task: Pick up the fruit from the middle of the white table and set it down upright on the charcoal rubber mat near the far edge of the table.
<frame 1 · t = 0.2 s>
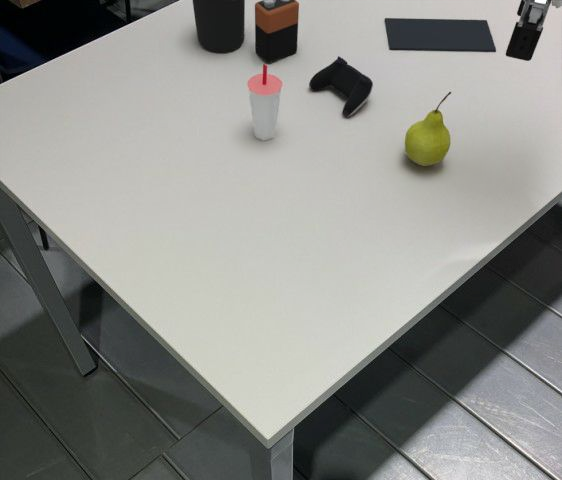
hand: (523, 36, 79), 22 cm above the table, tool pointing down, fingers open, 9 cm apart
fruit: (421, 161, 100), on the table
battery: (276, 54, 115), on the table
cup: (264, 134, 103), on the table
mat: (438, 35, 119), on the table
gaming controller: (341, 98, 108), on the table
pen holder: (221, 41, 116), on the table
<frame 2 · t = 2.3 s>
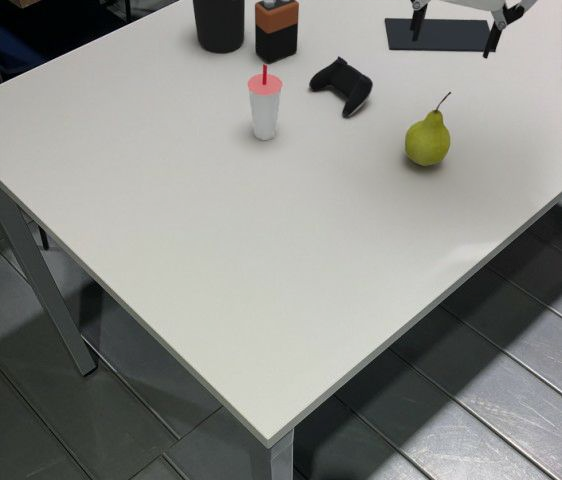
hand: (451, 44, 84), 19 cm above the table, tool pointing down, fingers open, 9 cm apart
nothing on the table moved.
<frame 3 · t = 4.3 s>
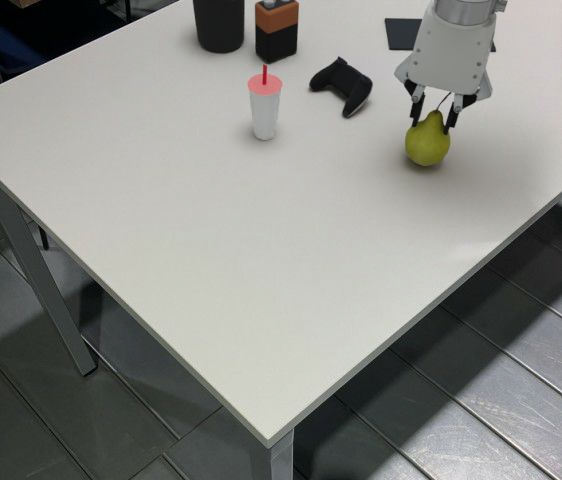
hand: (431, 124, 94), 7 cm above the table, tool pointing down, fingers closed on fruit, 4 cm apart
fruit: (421, 161, 100), on the table, touching gripper
everything else where it was.
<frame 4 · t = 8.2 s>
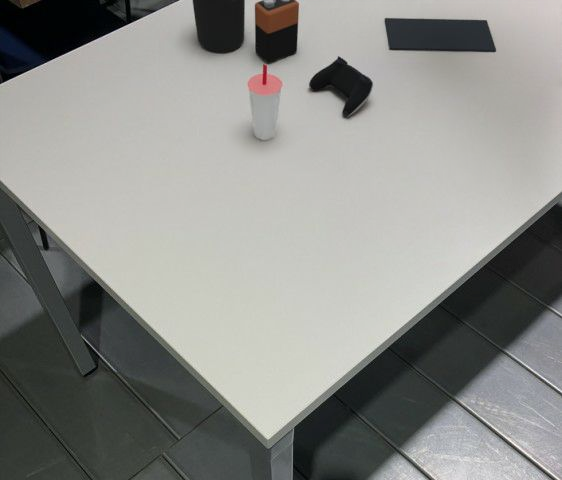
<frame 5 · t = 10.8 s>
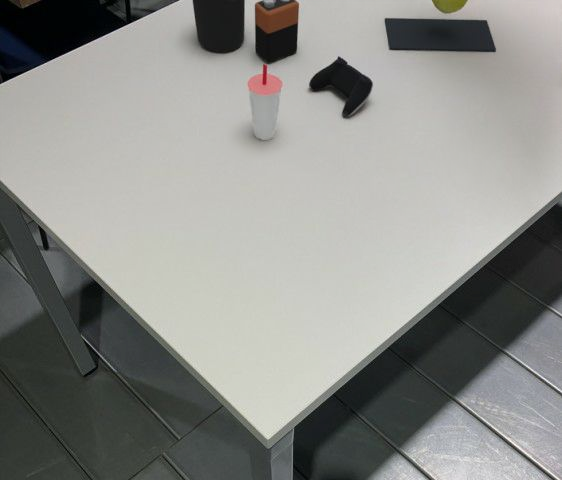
fruit: (444, 12, 115), point 4 cm above the table, touching gripper
everything else where it was.
when the fingers open (7 cm above the table, at t = 12.2 s): fruit stays where it is, resting on mat.
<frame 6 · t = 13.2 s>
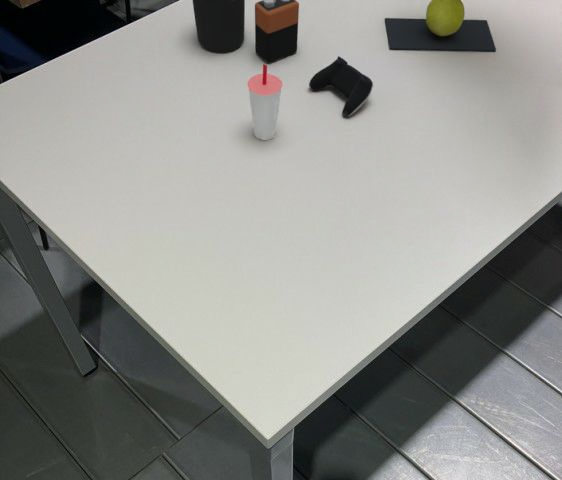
fruit: (439, 34, 118), resting on mat
everything else where it was.
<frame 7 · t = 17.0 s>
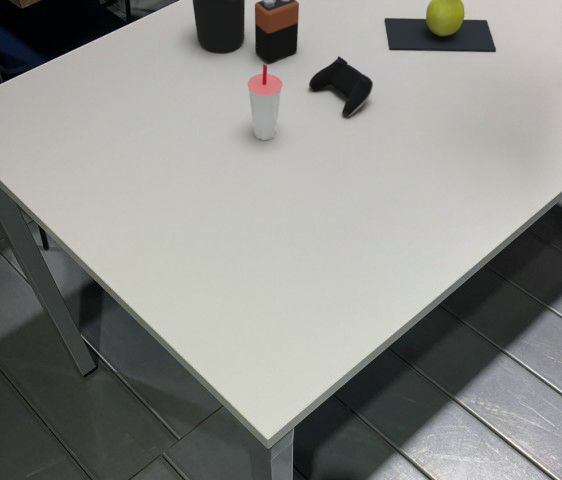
nothing on the table moved.
at the end: fruit inside the target area on the mat (0.1 cm from its centre), point 0.2 cm above the mat's base; fruit tilted 0°; the gripper is holding nothing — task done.
